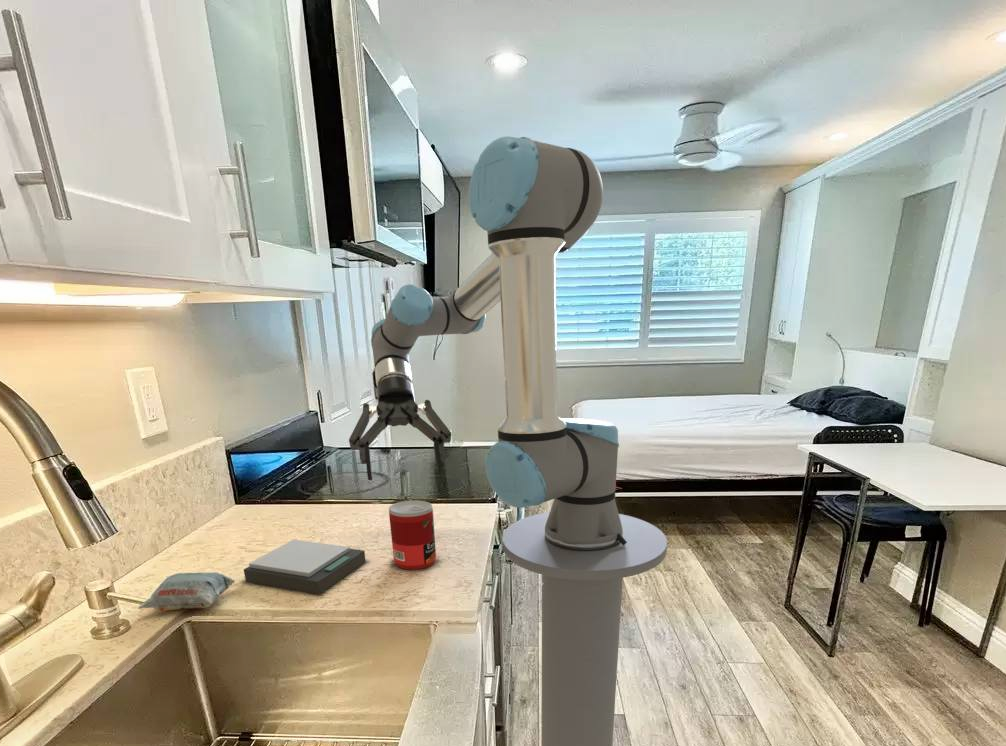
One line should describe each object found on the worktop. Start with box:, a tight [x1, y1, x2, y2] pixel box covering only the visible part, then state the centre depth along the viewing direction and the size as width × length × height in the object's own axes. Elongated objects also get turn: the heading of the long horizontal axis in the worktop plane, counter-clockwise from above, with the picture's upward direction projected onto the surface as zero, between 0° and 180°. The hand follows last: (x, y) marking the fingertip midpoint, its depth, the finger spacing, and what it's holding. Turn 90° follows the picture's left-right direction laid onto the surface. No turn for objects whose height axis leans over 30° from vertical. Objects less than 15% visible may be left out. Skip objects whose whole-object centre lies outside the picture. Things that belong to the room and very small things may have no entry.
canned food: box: [388, 499, 437, 570], centre depth 106 cm, size 8×8×11 cm
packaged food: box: [137, 571, 235, 611], centre depth 93 cm, size 9×12×5 cm
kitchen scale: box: [243, 539, 367, 595], centre depth 104 cm, size 16×14×3 cm
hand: (405, 474), depth 112 cm, fingers open, 13 cm apart
